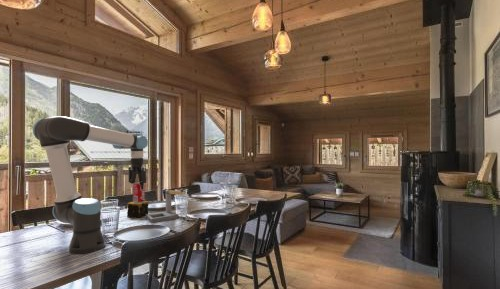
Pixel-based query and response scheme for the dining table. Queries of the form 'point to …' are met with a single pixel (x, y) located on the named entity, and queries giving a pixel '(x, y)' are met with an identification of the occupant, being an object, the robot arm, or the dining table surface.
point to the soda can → (138, 193)
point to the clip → (175, 192)
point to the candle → (137, 210)
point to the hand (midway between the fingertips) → (137, 193)
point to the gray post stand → (163, 213)
